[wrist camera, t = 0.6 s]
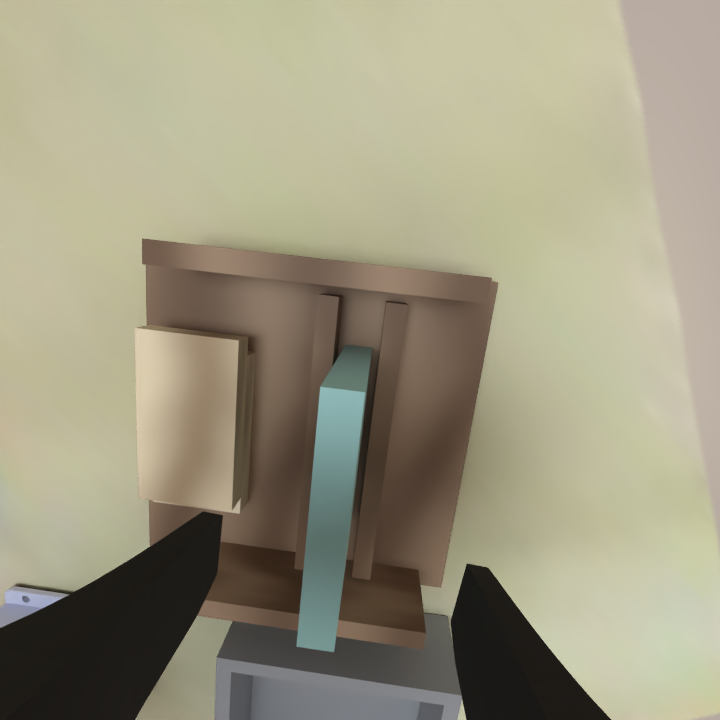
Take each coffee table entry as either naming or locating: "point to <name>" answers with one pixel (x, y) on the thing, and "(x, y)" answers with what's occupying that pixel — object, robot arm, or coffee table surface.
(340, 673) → the tote
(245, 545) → the rack
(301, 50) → the coffee table surface
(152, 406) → the offcut upper
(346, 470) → the sheet
